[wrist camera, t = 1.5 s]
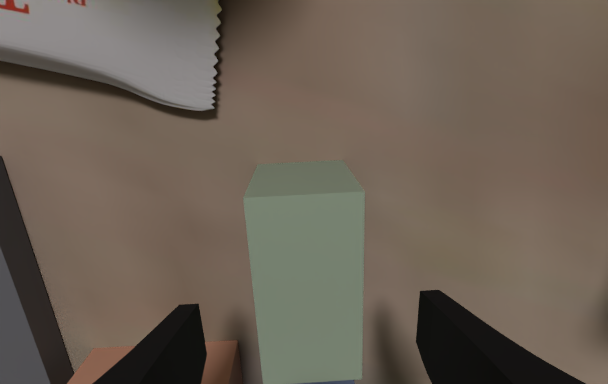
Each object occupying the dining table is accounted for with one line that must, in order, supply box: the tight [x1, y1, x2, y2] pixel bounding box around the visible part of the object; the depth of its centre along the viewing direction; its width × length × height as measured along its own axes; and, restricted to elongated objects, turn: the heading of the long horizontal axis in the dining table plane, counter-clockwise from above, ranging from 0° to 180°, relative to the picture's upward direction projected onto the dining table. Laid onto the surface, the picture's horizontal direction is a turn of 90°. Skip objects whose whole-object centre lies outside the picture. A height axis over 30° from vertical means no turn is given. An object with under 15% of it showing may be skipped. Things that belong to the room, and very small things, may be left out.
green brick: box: [243, 160, 365, 384], centre depth 14 cm, size 8×4×5 cm, turn 2°
